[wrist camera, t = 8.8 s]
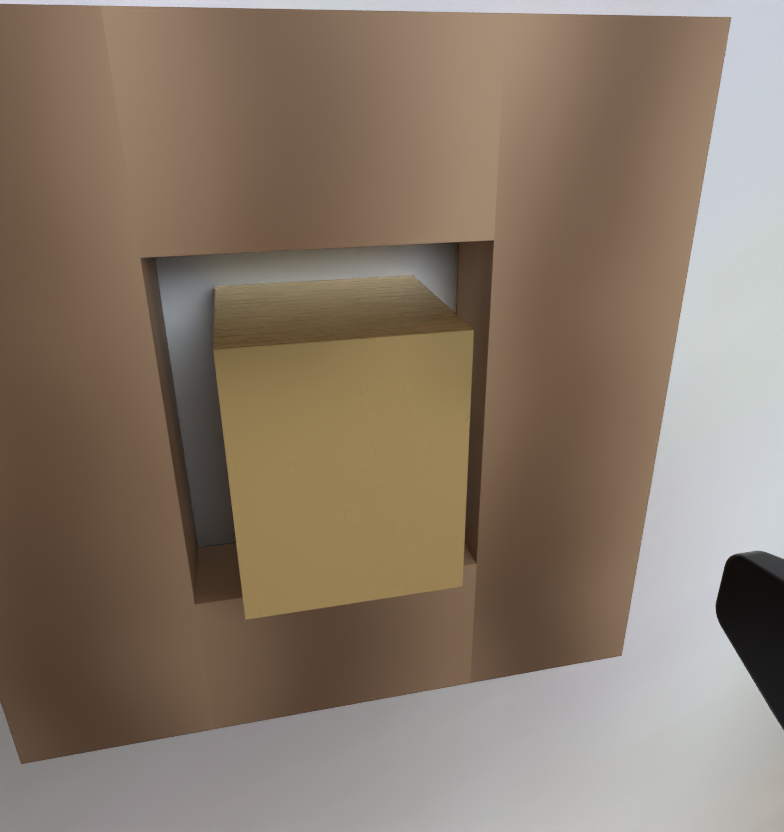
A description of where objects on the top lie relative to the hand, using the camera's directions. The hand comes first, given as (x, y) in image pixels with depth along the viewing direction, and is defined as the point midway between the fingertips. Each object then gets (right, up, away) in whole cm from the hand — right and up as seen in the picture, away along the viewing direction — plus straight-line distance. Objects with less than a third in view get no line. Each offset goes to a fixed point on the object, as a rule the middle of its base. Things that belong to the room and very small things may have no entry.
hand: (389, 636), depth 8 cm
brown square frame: (-1, +3, +7) cm, 8 cm away
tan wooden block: (-1, +3, +7) cm, 8 cm away
